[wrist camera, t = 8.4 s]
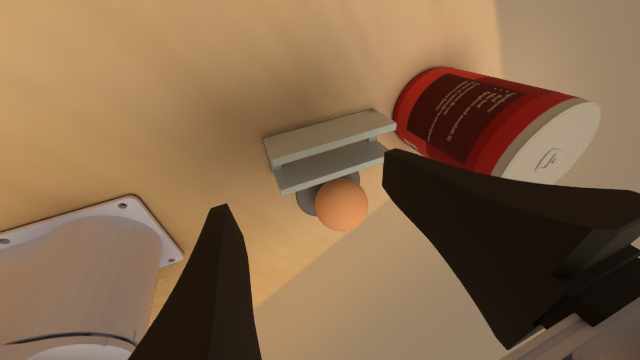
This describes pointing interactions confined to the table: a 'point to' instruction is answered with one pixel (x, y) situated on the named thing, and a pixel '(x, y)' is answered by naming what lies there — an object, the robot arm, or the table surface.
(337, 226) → the ball
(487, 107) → the canned food
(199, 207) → the table surface
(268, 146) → the acrylic fence
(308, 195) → the coaster
